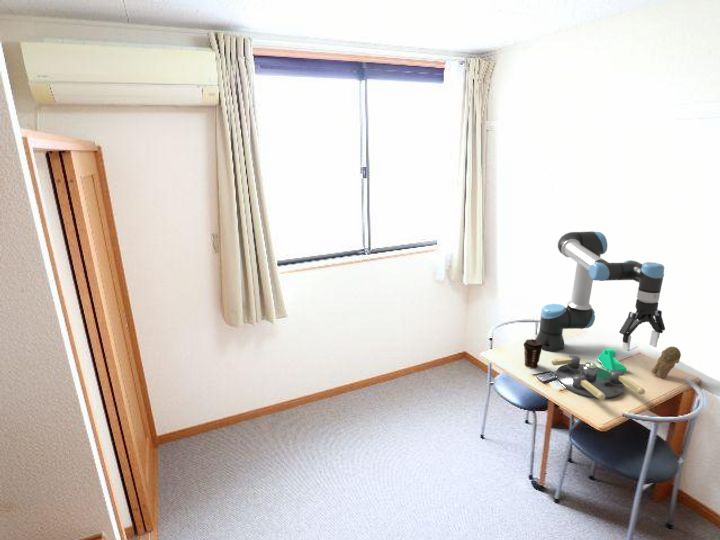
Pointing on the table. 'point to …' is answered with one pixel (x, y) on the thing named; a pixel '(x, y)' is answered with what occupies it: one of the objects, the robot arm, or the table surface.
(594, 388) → the knob
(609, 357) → the camera mount
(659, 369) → the figurine
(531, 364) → the coffee cup
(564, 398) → the table surface
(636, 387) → the knob
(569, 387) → the level base
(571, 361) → the maraca
